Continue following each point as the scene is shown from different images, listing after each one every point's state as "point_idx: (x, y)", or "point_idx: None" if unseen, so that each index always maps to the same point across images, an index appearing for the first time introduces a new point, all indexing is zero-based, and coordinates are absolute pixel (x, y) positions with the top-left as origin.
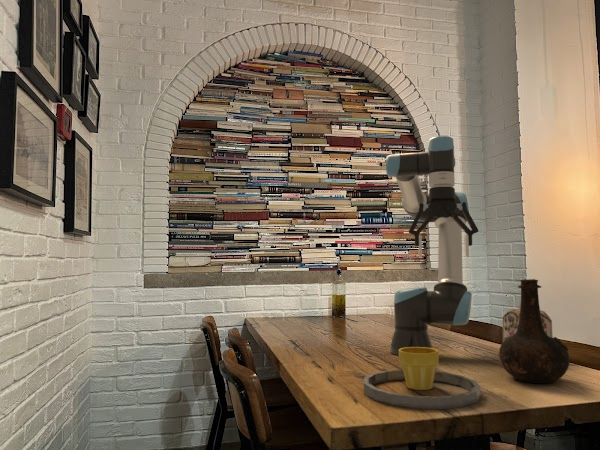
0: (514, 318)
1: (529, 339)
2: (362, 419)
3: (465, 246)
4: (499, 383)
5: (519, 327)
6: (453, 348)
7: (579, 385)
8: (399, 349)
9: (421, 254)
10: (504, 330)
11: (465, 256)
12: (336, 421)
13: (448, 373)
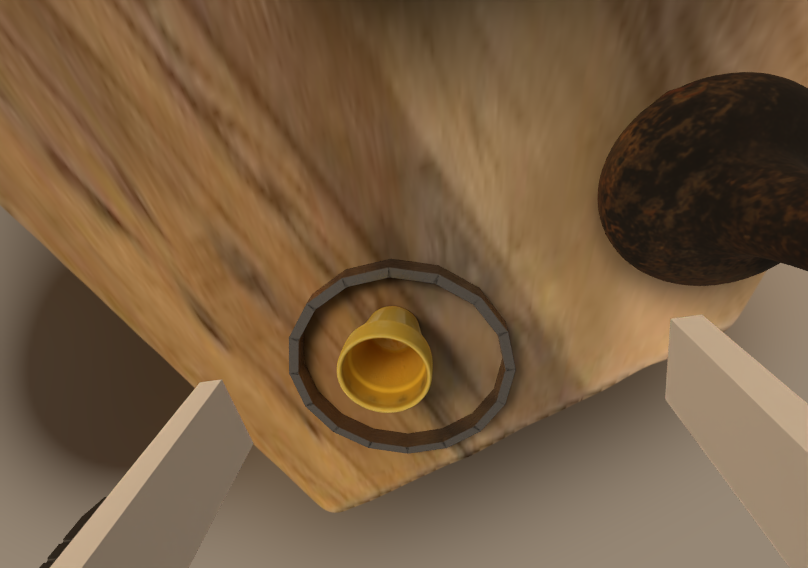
0: None
1: (714, 264)
2: (351, 489)
3: (744, 464)
4: (567, 243)
5: (720, 231)
6: None
7: None
8: (338, 378)
9: (240, 462)
10: None
11: (671, 357)
12: (325, 500)
13: (449, 285)
